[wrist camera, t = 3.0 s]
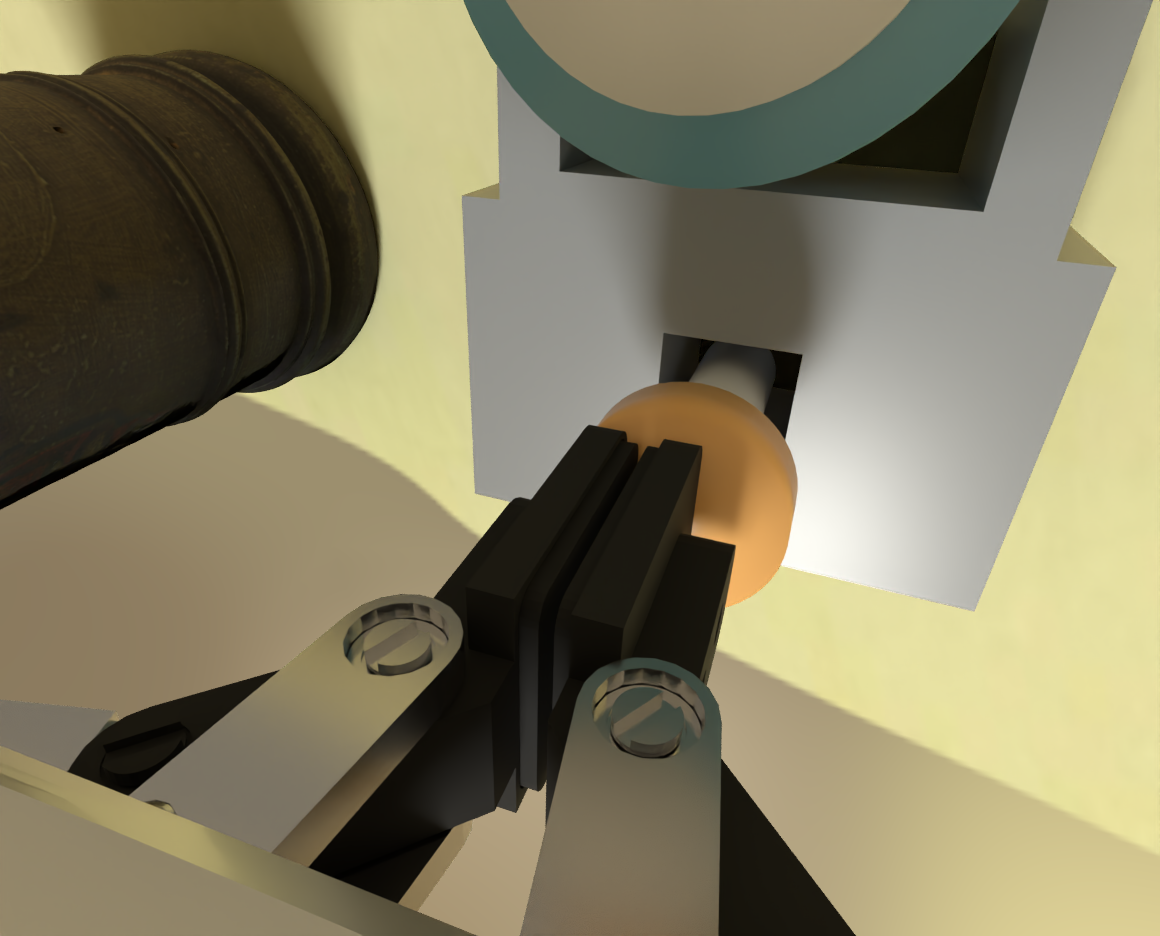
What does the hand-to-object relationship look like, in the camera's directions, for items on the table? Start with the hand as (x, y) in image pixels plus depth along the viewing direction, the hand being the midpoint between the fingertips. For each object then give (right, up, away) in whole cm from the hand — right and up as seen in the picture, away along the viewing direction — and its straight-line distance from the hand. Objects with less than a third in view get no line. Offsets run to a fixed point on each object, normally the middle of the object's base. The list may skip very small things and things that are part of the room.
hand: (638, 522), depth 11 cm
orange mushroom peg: (+3, +3, +5) cm, 6 cm away
